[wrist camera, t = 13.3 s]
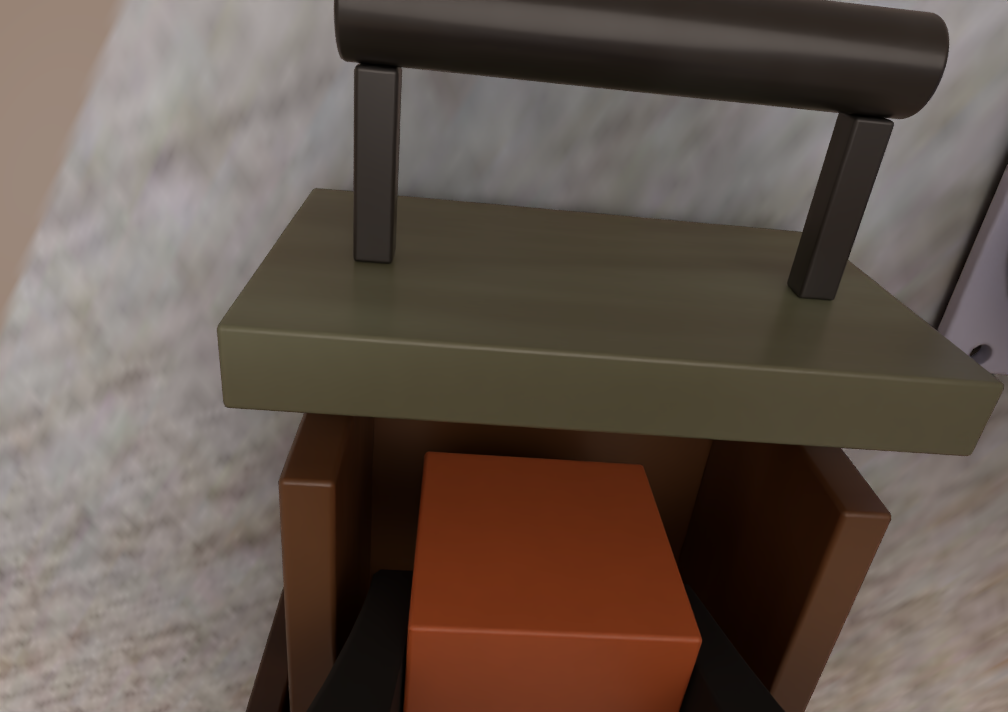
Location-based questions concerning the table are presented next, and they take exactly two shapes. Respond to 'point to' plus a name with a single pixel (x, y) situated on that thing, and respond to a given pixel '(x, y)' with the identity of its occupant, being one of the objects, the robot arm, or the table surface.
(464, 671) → the block
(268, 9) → the table surface
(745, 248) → the drawer
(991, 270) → the robot arm
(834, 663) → the table surface
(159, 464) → the table surface
